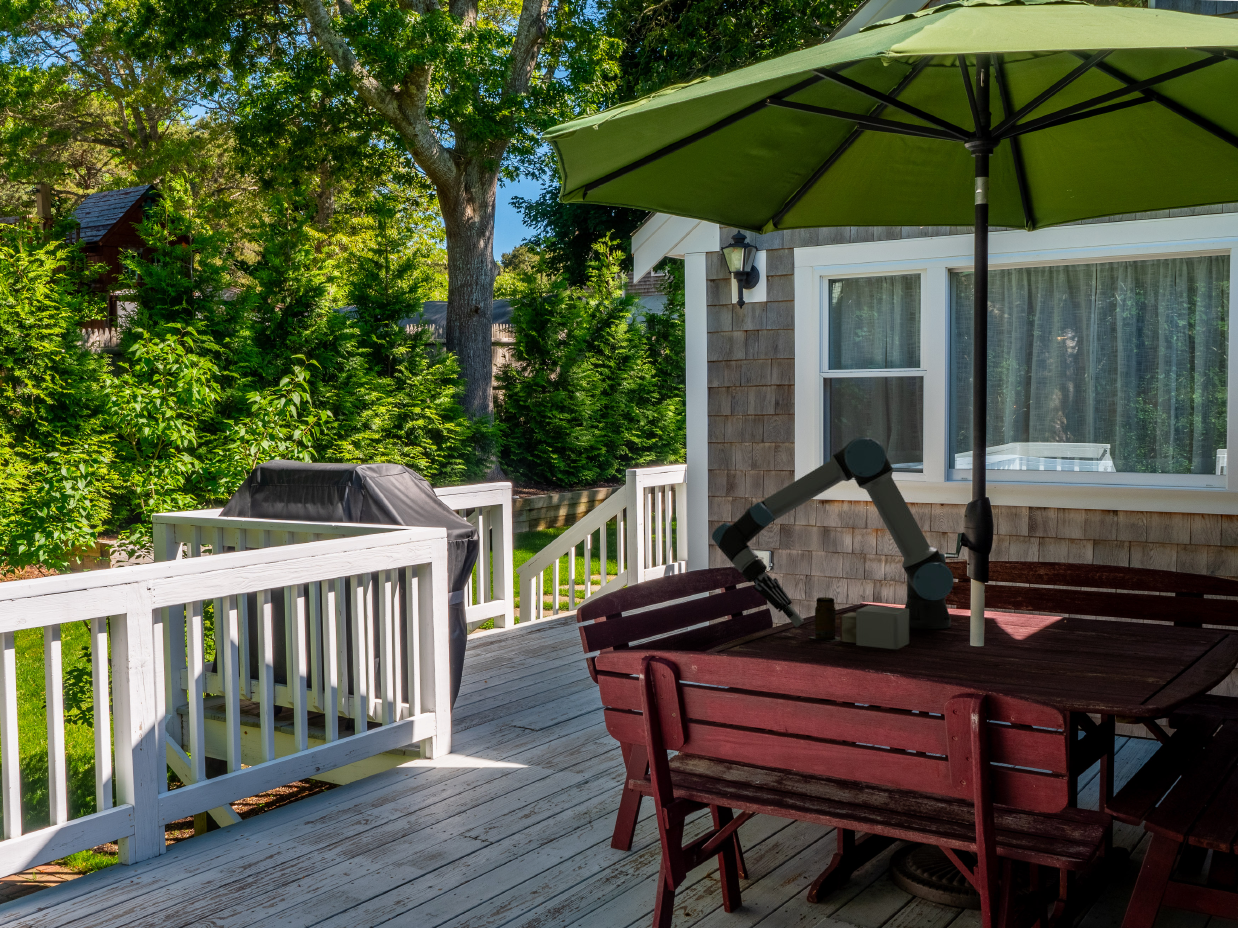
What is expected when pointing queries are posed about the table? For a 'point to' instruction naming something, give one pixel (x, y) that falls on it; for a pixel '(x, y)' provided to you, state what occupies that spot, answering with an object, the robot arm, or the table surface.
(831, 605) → the condiment
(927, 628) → the robot arm
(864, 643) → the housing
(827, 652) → the table surface
